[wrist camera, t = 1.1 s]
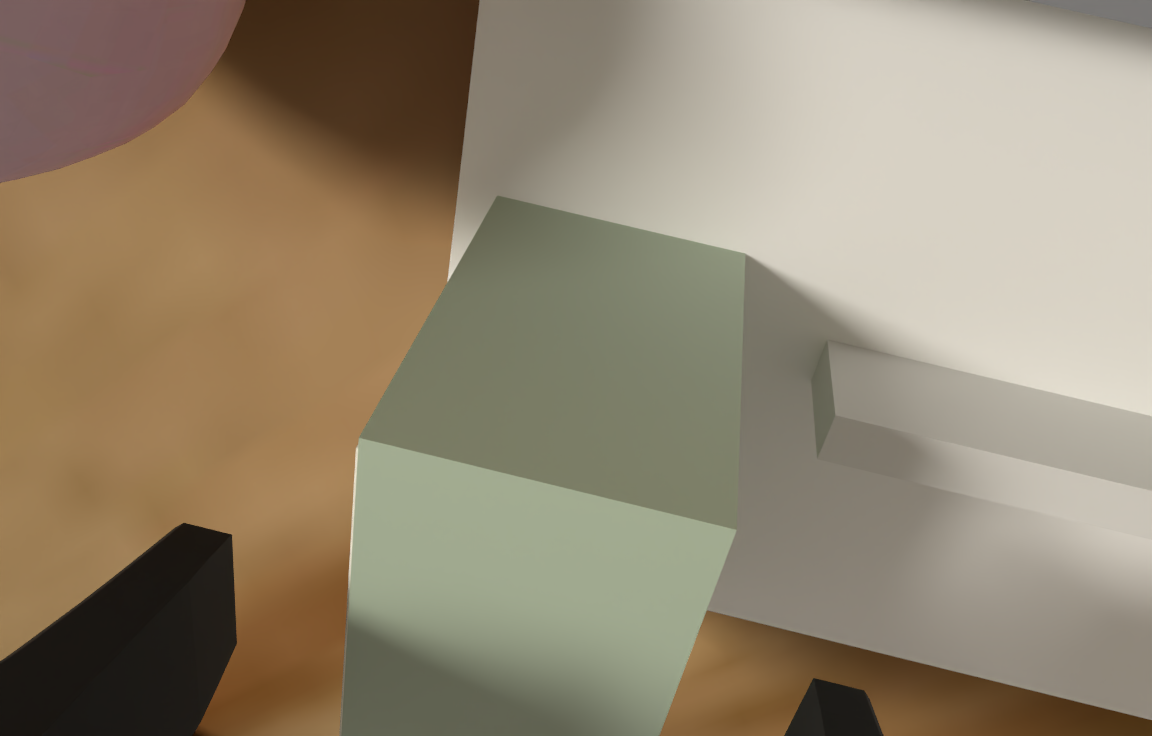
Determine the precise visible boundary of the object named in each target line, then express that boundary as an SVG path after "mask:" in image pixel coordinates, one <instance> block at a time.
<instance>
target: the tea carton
mask: <svg viewBox="0 0 1152 736" xmlns="http://www.w3.org/2000/svg"><path fill="white" fill-rule="evenodd" d="M744 283H745V253H741V252H737V251H733V250H728V249H724V248H720V247H715V246H711V245H707V244H703V243H698V242H694V241H690V240H686V239H681V238H677V237H673V236H668V235H664V234H660V233H656V232H651V231H647V230H643V229H639V228H634V227H630V226H626V225H621V224H617V223H613V222H609V221H604V220H600V219H596V218H592V217H587V216H583V215H579V214H574V213H570V212H566V211H562V210H557V209H553V208H549V207H545V206H540V205H536V204H532V203H527V202H523V201H519V200H515V199H510V198H506V197H502V196H497V197H496V198H495V200H494V202H493V204H492V205H491V207H490V209H489V211H488V213H487V214H486V216H485V218H484V220H483V221H482V223H481V225H480V227H479V228H478V230H477V232H476V234H475V235H474V237H473V239H472V241H471V242H470V244H469V246H468V248H467V249H466V251H465V253H464V255H463V256H462V258H461V260H460V262H459V263H458V265H457V267H456V269H455V270H454V272H453V274H452V276H451V277H450V279H449V281H448V283H447V284H446V286H445V288H444V290H443V291H442V293H441V295H440V297H439V298H438V300H437V302H436V304H435V305H434V307H433V309H432V311H431V312H430V314H429V316H428V318H427V319H426V321H425V323H424V325H423V326H422V328H421V330H420V332H419V333H418V335H417V337H416V339H415V340H414V342H413V344H412V346H411V347H410V349H409V351H408V353H407V354H406V356H405V358H404V360H403V361H402V363H401V365H400V367H399V368H398V370H397V372H396V374H395V375H394V377H393V379H392V381H391V382H390V384H389V386H388V388H387V389H386V391H385V393H384V395H383V396H382V398H381V400H380V402H379V403H378V405H377V407H376V409H375V410H374V412H373V414H372V416H371V417H370V419H369V421H368V423H367V424H366V426H365V428H364V430H363V431H362V433H361V435H360V437H359V444H358V445H357V447H356V459H355V476H354V494H353V511H352V528H351V546H350V563H349V581H348V598H347V615H346V633H345V650H344V668H343V685H342V702H341V720H340V736H659V735H660V732H661V729H662V727H663V724H664V721H665V719H666V716H667V714H668V711H669V708H670V706H671V703H672V700H673V698H674V695H675V692H676V690H677V687H678V684H679V682H680V679H681V677H682V674H683V671H684V669H685V666H686V663H687V661H688V658H689V655H690V653H691V650H692V647H693V645H694V642H695V639H696V637H697V634H698V632H699V629H700V626H701V624H702V621H703V618H704V616H705V613H706V610H707V608H708V605H709V602H710V600H711V597H712V594H713V592H714V589H715V587H716V584H717V581H718V579H719V576H720V573H721V571H722V568H723V565H724V563H725V560H726V557H727V555H728V552H729V549H730V547H731V544H732V542H733V539H734V536H735V534H736V531H737V509H738V477H739V445H740V413H741V380H742V348H743V316H744Z"/></svg>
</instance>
